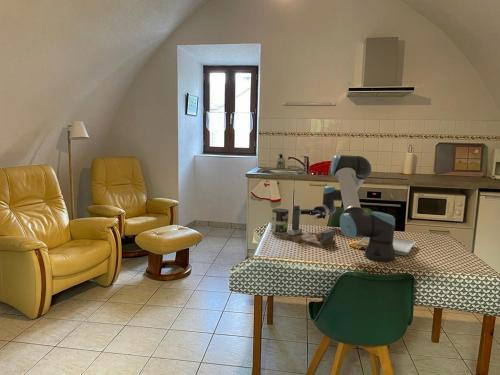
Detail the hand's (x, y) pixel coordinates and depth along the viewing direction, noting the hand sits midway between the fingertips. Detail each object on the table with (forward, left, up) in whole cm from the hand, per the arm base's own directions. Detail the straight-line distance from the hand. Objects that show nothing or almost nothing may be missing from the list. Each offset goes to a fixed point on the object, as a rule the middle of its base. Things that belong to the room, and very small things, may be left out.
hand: (304, 215), depth 240 cm
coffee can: (+8, +13, -12) cm, 19 cm away
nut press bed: (-13, +2, -12) cm, 18 cm away
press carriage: (-6, +8, -10) cm, 14 cm away
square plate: (-31, -38, -13) cm, 51 cm away
